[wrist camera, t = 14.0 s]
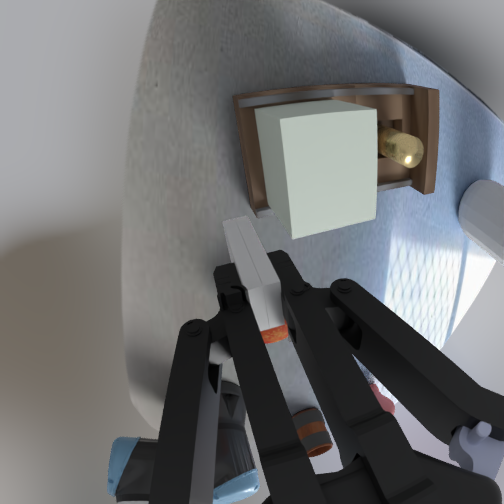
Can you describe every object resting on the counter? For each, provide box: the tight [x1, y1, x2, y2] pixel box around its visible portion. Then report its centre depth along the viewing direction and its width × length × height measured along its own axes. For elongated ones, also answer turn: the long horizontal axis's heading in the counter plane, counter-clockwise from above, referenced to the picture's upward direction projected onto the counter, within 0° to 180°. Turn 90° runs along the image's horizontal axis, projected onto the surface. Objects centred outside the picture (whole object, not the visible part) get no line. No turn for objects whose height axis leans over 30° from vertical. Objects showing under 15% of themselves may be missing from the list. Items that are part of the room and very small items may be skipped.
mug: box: [292, 408, 333, 457], centre depth 69 cm, size 9×12×12 cm
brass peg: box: [377, 123, 424, 168], centre depth 32 cm, size 4×4×8 cm
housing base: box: [233, 83, 439, 218], centre depth 33 cm, size 24×14×6 cm, turn 98°
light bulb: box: [370, 384, 395, 415], centre depth 68 cm, size 7×7×12 cm
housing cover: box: [254, 99, 377, 239], centre depth 29 cm, size 9×11×8 cm
